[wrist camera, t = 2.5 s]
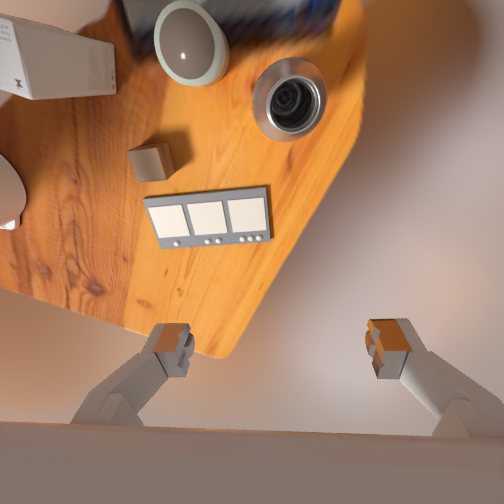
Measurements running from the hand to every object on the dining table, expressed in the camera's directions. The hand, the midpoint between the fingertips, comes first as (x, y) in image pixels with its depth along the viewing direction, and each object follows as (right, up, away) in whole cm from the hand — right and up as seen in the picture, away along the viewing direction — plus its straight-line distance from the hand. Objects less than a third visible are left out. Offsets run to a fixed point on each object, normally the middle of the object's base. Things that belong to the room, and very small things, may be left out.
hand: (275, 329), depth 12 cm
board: (-9, +9, +33) cm, 36 cm away
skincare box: (-23, +29, +22) cm, 43 cm away
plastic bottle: (+3, +25, +23) cm, 34 cm away
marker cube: (-16, +18, +28) cm, 37 cm away
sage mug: (-7, +29, +21) cm, 36 cm away
